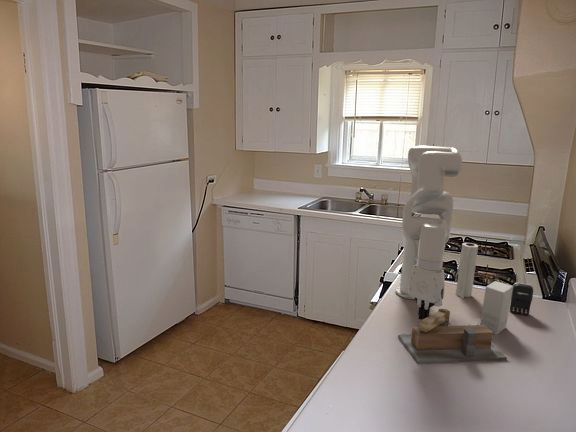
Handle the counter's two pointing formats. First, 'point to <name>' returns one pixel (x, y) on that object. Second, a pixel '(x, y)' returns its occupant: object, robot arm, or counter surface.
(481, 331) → the wooden gate latch
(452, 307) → the counter surface
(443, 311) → the bar
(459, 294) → the paper towel roll
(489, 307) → the skincare box
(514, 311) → the battery charger
